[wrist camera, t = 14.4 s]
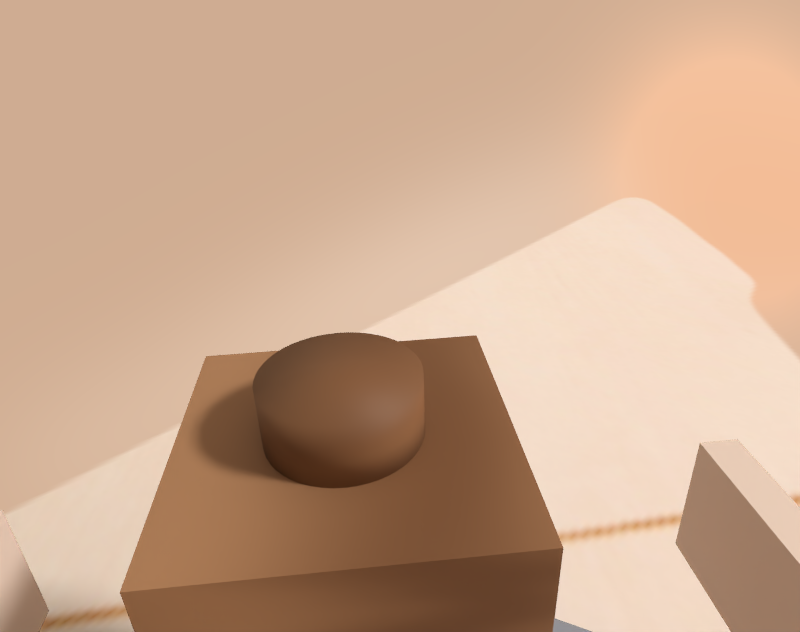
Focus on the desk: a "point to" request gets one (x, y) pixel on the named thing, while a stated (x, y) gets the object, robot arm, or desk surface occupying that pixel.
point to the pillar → (347, 498)
